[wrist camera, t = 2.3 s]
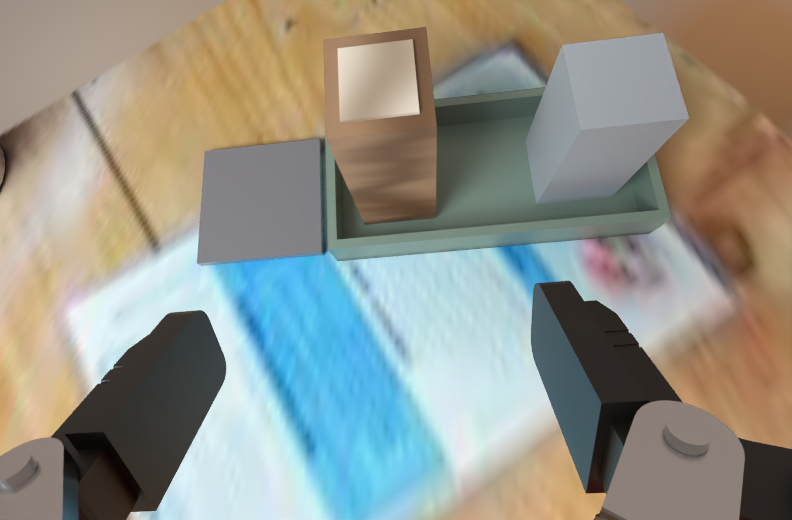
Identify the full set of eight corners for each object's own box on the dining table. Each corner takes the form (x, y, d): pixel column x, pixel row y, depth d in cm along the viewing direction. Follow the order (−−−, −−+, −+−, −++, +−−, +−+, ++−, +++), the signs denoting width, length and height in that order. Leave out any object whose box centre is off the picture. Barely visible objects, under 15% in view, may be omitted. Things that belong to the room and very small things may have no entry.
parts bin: (337, 260, 29) (327, 249, 26) (334, 134, 32) (324, 112, 29) (648, 233, 28) (672, 218, 25) (616, 103, 31) (634, 76, 28)
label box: (364, 224, 29) (324, 137, 19) (361, 153, 31) (322, 34, 20) (435, 218, 29) (436, 125, 18) (428, 146, 30) (425, 21, 20)
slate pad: (201, 265, 30) (197, 263, 29) (208, 155, 32) (204, 151, 32) (323, 254, 29) (321, 252, 29) (321, 142, 32) (319, 138, 31)
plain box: (536, 204, 28) (580, 129, 20) (525, 140, 30) (562, 44, 21) (611, 197, 28) (689, 118, 20) (596, 133, 30) (663, 32, 21)
